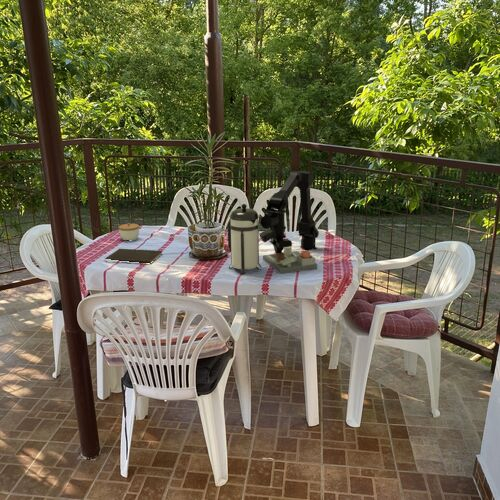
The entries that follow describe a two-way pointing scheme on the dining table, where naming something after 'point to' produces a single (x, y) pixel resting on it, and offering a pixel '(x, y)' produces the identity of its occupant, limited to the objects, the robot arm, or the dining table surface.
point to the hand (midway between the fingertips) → (277, 256)
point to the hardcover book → (135, 255)
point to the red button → (305, 254)
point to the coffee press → (244, 239)
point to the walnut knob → (279, 256)
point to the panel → (293, 266)
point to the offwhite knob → (287, 251)
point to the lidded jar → (129, 231)
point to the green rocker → (287, 260)
